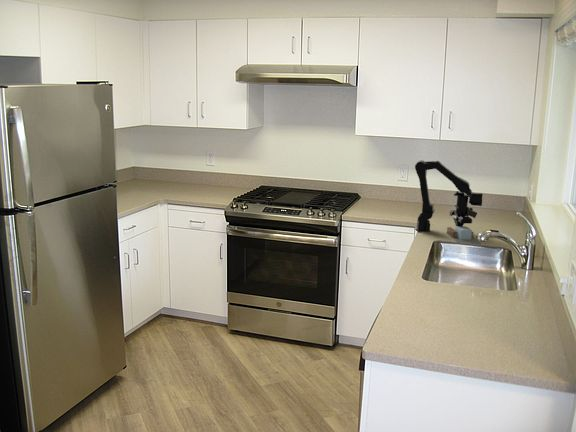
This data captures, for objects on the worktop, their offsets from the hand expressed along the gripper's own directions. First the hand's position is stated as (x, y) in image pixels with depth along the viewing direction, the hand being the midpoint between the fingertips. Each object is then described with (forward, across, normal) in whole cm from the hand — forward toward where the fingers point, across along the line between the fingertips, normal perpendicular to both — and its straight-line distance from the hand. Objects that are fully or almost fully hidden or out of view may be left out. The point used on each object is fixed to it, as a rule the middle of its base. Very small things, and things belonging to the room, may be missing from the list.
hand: (459, 231), depth 328 cm
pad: (+2, -13, 0) cm, 13 cm away
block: (+1, -6, 0) cm, 6 cm away
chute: (+2, -2, 0) cm, 2 cm away
